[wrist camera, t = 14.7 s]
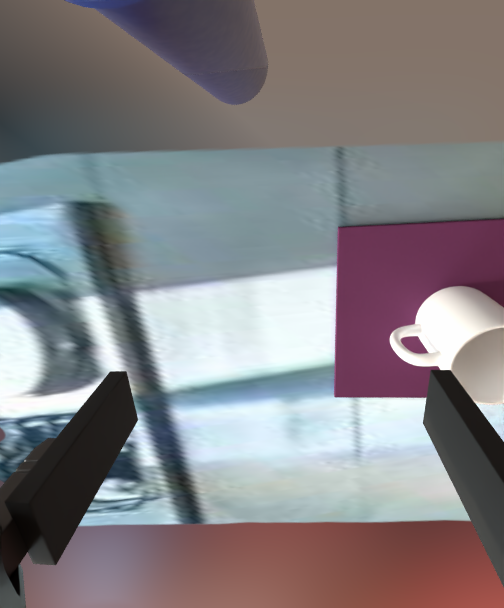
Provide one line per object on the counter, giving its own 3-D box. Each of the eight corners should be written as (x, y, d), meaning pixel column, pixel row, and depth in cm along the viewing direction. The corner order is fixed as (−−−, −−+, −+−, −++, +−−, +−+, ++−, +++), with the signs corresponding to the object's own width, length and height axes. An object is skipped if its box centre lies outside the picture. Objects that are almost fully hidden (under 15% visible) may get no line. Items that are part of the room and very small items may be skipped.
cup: (486, 347, 42) (542, 402, 33) (380, 354, 44) (404, 409, 34) (495, 280, 39) (559, 320, 29) (379, 290, 40) (406, 332, 31)
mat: (337, 226, 39) (338, 227, 38) (560, 215, 36) (564, 216, 36) (334, 394, 47) (334, 397, 47) (514, 395, 45) (517, 398, 44)
